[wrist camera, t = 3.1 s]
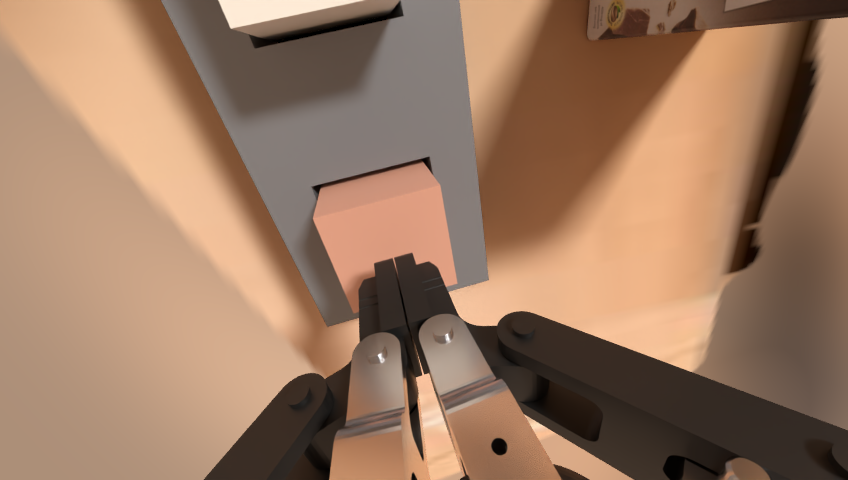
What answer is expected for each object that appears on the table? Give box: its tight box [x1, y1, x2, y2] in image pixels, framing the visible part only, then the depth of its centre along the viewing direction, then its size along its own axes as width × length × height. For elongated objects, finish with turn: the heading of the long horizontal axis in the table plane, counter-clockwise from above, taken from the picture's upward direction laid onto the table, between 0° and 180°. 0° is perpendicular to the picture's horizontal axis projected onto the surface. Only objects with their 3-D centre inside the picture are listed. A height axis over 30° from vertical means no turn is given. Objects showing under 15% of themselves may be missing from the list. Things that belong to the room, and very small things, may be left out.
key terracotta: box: [313, 159, 458, 313], centre depth 15 cm, size 5×5×5 cm
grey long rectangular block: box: [161, 0, 489, 327], centre depth 15 cm, size 22×10×5 cm, turn 11°
